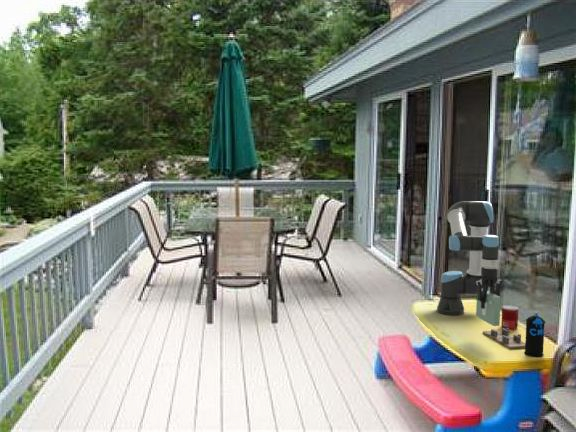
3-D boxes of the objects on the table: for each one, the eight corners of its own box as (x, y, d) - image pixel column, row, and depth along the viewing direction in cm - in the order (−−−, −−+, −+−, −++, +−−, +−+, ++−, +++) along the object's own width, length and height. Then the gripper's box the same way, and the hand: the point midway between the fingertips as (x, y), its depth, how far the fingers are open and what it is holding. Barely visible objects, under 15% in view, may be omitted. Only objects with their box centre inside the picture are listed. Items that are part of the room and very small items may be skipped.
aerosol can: (520, 351, 274) (522, 309, 271) (537, 350, 274) (540, 309, 272) (529, 357, 266) (531, 314, 263) (547, 357, 266) (549, 314, 264)
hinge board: (482, 333, 300) (483, 325, 299) (500, 332, 302) (500, 324, 301) (510, 349, 276) (510, 340, 276) (529, 347, 278) (529, 339, 278)
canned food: (518, 330, 305) (519, 309, 304) (502, 329, 307) (503, 308, 305) (516, 325, 312) (517, 305, 311) (500, 324, 314) (501, 304, 313)
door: (473, 316, 293) (474, 289, 291) (481, 315, 294) (482, 288, 292) (491, 326, 278) (492, 297, 276) (499, 325, 279) (500, 297, 277)
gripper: (478, 269, 277) (476, 318, 280) (509, 268, 281) (506, 315, 284) (470, 266, 284) (468, 313, 288) (500, 264, 288) (498, 311, 291)
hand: (487, 314), depth 286 cm, fingers closed on door, 3 cm apart
